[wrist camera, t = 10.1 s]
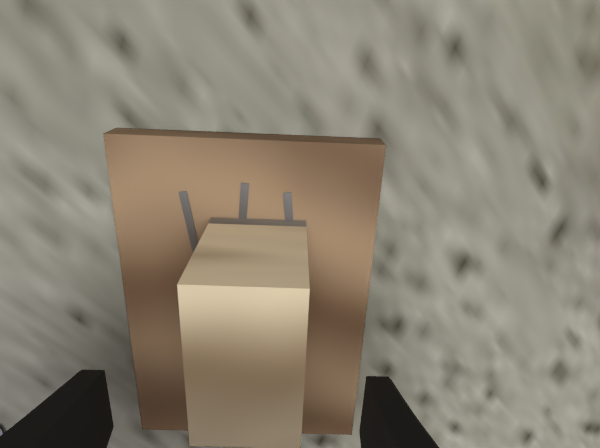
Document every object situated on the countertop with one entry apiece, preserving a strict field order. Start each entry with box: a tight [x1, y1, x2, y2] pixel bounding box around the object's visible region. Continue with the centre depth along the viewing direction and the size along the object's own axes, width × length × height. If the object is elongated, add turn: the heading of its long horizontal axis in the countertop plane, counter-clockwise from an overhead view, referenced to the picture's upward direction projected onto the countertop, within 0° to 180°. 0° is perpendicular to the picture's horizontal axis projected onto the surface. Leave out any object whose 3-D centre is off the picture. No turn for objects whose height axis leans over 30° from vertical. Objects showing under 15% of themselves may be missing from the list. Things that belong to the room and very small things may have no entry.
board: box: [104, 128, 386, 435], centre depth 18 cm, size 14×10×1 cm
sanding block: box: [177, 217, 310, 448], centre depth 15 cm, size 6×4×5 cm, turn 178°
